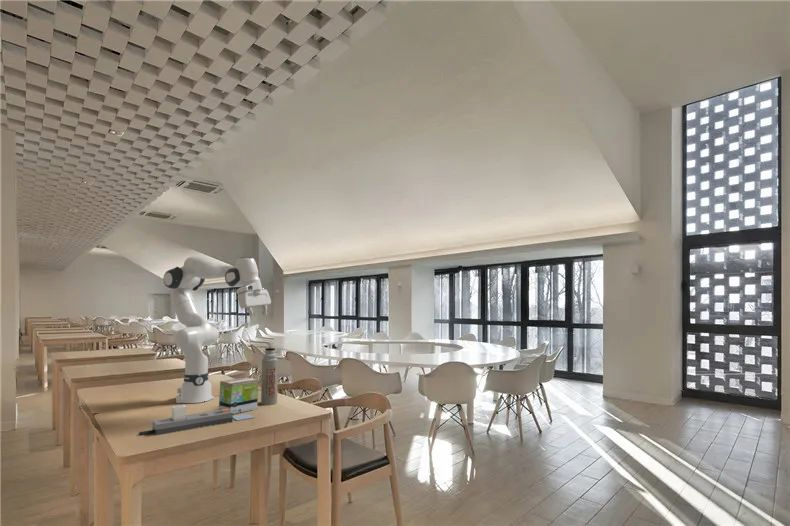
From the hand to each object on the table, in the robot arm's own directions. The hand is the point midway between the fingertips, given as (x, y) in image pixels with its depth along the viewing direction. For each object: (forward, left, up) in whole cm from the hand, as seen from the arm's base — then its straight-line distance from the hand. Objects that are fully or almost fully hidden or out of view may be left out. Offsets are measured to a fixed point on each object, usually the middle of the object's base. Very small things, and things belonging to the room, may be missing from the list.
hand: (258, 315), depth 222 cm
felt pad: (+9, -10, -46) cm, 48 cm away
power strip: (+9, -34, -46) cm, 58 cm away
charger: (+9, -37, -44) cm, 58 cm away
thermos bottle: (-11, +11, -46) cm, 48 cm away
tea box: (-5, -7, -46) cm, 47 cm away
